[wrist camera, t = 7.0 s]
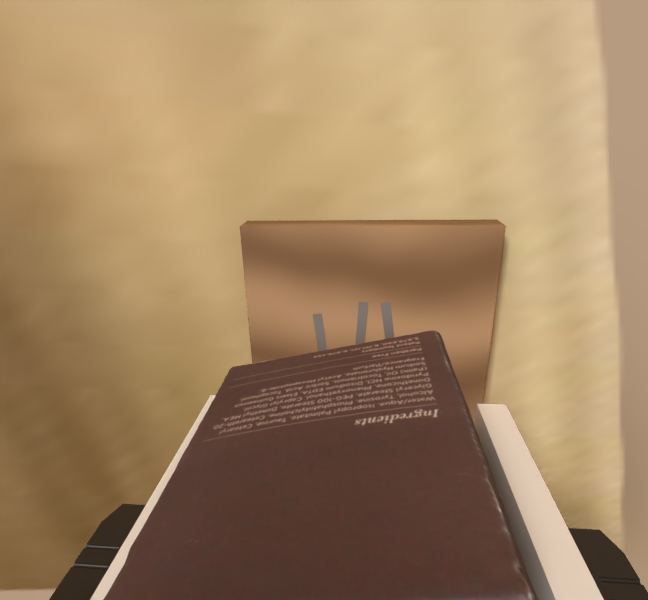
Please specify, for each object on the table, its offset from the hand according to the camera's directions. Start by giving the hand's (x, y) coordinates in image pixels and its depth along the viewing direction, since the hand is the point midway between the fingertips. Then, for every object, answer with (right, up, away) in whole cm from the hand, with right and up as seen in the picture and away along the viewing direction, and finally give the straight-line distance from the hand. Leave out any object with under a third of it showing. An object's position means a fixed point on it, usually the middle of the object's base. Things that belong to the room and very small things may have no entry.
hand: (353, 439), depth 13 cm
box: (0, 0, +1) cm, 1 cm away
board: (+2, +1, +13) cm, 13 cm away
